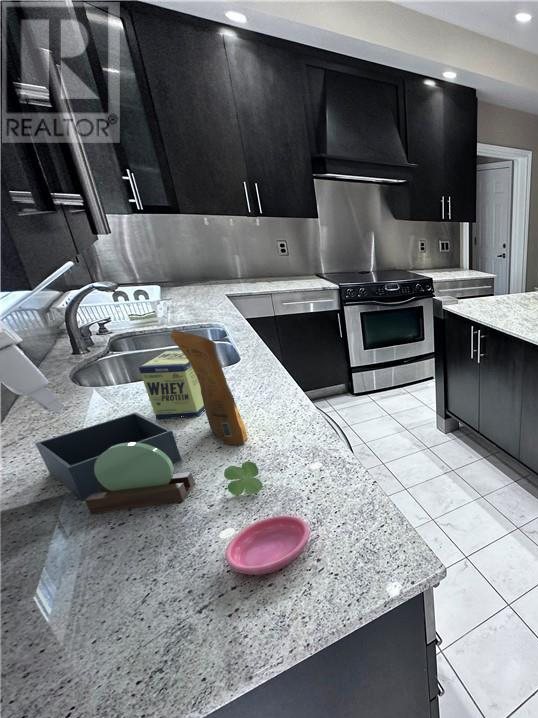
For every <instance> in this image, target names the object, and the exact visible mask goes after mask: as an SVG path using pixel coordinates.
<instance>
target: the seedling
mask: <svg viewBox="0 0 538 718" xmlns="http://www.w3.org/2000/svg"><path fill="white" fill-rule="evenodd" d="M259 471H260V470H259V468H258V466H257V464H256V463H255V462H253V461H249V460H248V461H244V462H242V463H241V466H236V465H230V466H228V467H227V468H225V469H224V472H223V477H224V478H225V479H226V480H228V481H230V482H229V483H228V484H227V491H228V492H229V493H231V494H232V495H234V496H240V495H242V494H244V492H245V494H246V495H249V496H250V495H256V494H258V493H259V492H260V491H261V490H262V489H263V482H262V481H261V479H259V478H257V476H258V475H259V473H260V472H259Z"/></svg>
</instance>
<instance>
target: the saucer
mask: <svg viewBox="0 0 538 718" xmlns="http://www.w3.org/2000/svg"><path fill="white" fill-rule="evenodd" d="M309 539H310V528H309V525H308V523H307V522H306V521H305V520H304V519H302V518H301V517H299V516H296V515H290V514H288V515H287V514H285V515H275V516H270V517H266V518H263V519H260V520H257V521H256V522H253V523H251V524H249V525H248V526H246V527H245V528H244V529H242V530H241V531H239V532H238V533H237V534H235V536H234V537H233V538H232V539H231V540H230V541H229V543H228V545H227V547H226V549H225V561H226V563H227V566H229V568H230V569H232V570H233V571H235V572H237V573H241V574H244V575H253V576H260V575H261V576H262V575H268V574H271V573H275V572H277V571H279V570H282V569H284V568H285V567H287V566H289V565H290V564H291V563H292V562H293V561H294V560H295V559H296V558H298V556H299V555H300V554H301V553H302V552H303V550H304V549H305V548H306V546H307V544H308V542H309Z"/></svg>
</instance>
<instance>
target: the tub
mask: <svg viewBox="0 0 538 718" xmlns="http://www.w3.org/2000/svg"><path fill="white" fill-rule="evenodd" d="M129 442H135V443H143V444H147V445H151V446H153V447H155V448H157V449H159V450H161V451H162V452H164V453H165V454H166V455H167V456H168V457H169V458H170V460H171V462H172V464H173V465H174V464H175V463H176V462H180V461H182V457H181V454H180V451H179V447H178V444H177V441H176V439H175V436H174V432H173V430H172V429H170V428H168V427H166V426H163V425H162V424H159V423H158V422H156V421H154V420H152V419H151V418H149V417H146V416H144V415H143V414H141V413H139V412H137V411H136V412H132V413H128V414H126V415H122V416H119V417H116V418H113V419H109V420H106V421H103V422H99V423H97V424H94V425H89V426H86V427H84V428H80V429H77V430H73V431H70V432H67V433H63V434H61V435H58V436H57V435H56V436H54V437H51V438H47V439H44V440H41V441H38V442H35V443H34V445H35V447H36V449H37V451H38V453H39V454H40V456H41V459H42V461H43V463H44V465H45V467H46V469H47V471H48V474H49V475H50V476H52V477H53V478H54V479H56V481H58V482H59V483H61V484H62V485H63V486H64V487H66V488H67V489H68V490H69V491H71V492H72V494H74V495H75V496H76V497H78V498H79V499H80V500H82V501H84V502H85V500H86V499H87V498H88V497H89V496H90V495H91V494H94V493H100V491H99V489H98V487H99V486H100V485H101V483H100V482H99V481H98V480H97V478H96V475H95V472H94V465H95V462H96V460H97V459H98V457H99V456H100V455H101V454H102V453H103V452H104V451H106V450H107V449H108V448H110V447H112V446H115V445H117V444H121V443H129Z"/></svg>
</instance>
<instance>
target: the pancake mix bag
mask: <svg viewBox="0 0 538 718" xmlns="http://www.w3.org/2000/svg"><path fill="white" fill-rule="evenodd" d="M169 334H170V335H169V336H170V338H171V340H172V342H173V343H174V344H175V345H176V346H177V347H178V349H179V350H180V349H181V351H182V352H183V354H184V355H185V356H186V358H187V359H188V361H189V362H190V364H191V366H192V368H193V370H194V372H195V374H196V376H197V378H198V381H199V384H200V388H201V395H202V399H203V404H204V408H205V410H204V412H205V416H206V419H207V422H208V425H209V428H210V430H211V432H212V434H214V436H217V438H219V439H220V440H221V441H223V442H224V444H226V445H227V446H241V445H242V446H243V445H246V441H247V440H248V434H247V430H246V429H247V428H246V426H245V423H244V421H243V419H242V415H241V413H240V410H239V409H238V406H237V403H236V400H235V398H234V395H233V393H232V390H231V389H230V386H229V385H228V382H227V377H226V376H225V373H224V370H223V367H222V364H221V360H220V358H219V355H218V350H217V345H216V344H217V342H215V341H213V340H211V339H209V338H207V337H204V336H201V335H197V334H192V333H187V332H183V331H181V330H180V331H179V330H177V329H172V331H171V332H170V333H169Z"/></svg>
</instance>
